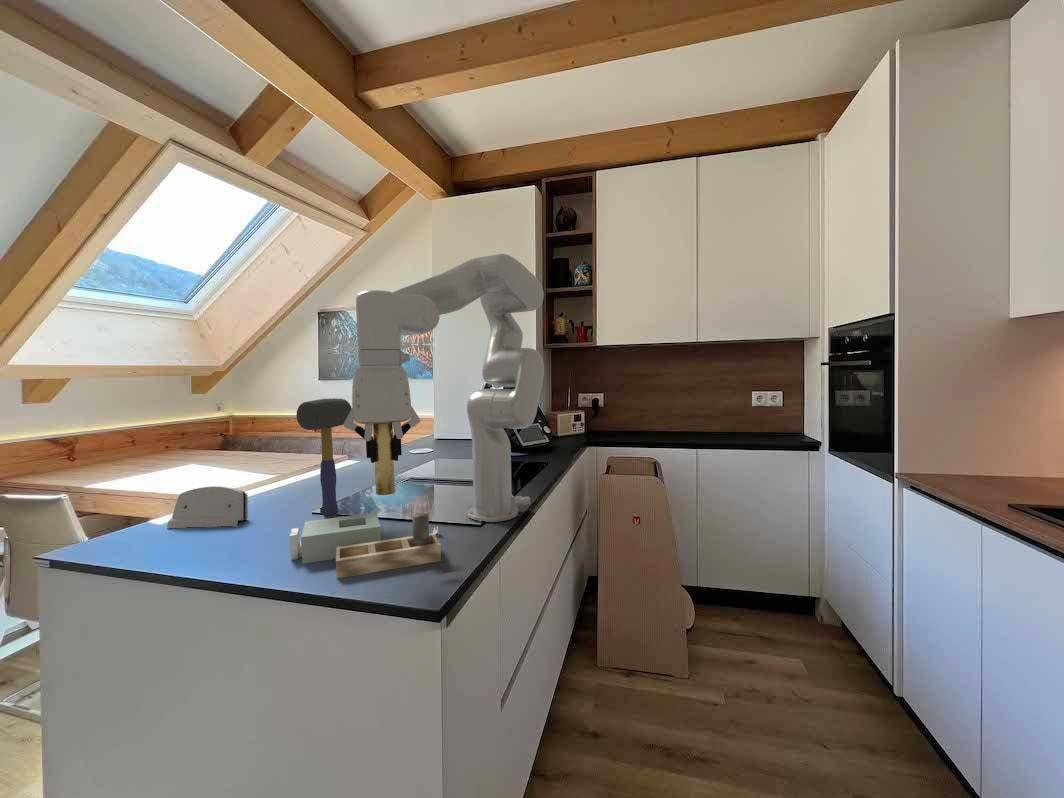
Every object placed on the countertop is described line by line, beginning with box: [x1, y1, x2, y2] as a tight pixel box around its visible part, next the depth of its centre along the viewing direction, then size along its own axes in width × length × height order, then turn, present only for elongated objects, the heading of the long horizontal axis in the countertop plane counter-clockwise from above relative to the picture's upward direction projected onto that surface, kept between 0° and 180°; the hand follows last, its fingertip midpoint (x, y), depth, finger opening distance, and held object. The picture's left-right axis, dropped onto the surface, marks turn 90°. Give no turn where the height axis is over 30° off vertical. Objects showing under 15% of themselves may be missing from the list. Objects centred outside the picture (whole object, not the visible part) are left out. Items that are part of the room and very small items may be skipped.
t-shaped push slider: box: [289, 527, 302, 561], centre depth 93 cm, size 8×4×5 cm, turn 112°
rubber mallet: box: [296, 398, 352, 519], centre depth 118 cm, size 12×8×30 cm, turn 159°
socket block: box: [300, 512, 382, 565], centre depth 95 cm, size 14×10×6 cm
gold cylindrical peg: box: [372, 422, 396, 496], centre depth 87 cm, size 3×3×13 cm
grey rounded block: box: [166, 485, 249, 530], centre depth 116 cm, size 17×5×10 cm, turn 93°
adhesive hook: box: [432, 526, 440, 537], centre depth 102 cm, size 3×3×3 cm
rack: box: [335, 512, 442, 579], centre depth 87 cm, size 18×7×9 cm, turn 112°
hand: (384, 459), depth 87 cm, fingers closed on gold cylindrical peg, 3 cm apart
